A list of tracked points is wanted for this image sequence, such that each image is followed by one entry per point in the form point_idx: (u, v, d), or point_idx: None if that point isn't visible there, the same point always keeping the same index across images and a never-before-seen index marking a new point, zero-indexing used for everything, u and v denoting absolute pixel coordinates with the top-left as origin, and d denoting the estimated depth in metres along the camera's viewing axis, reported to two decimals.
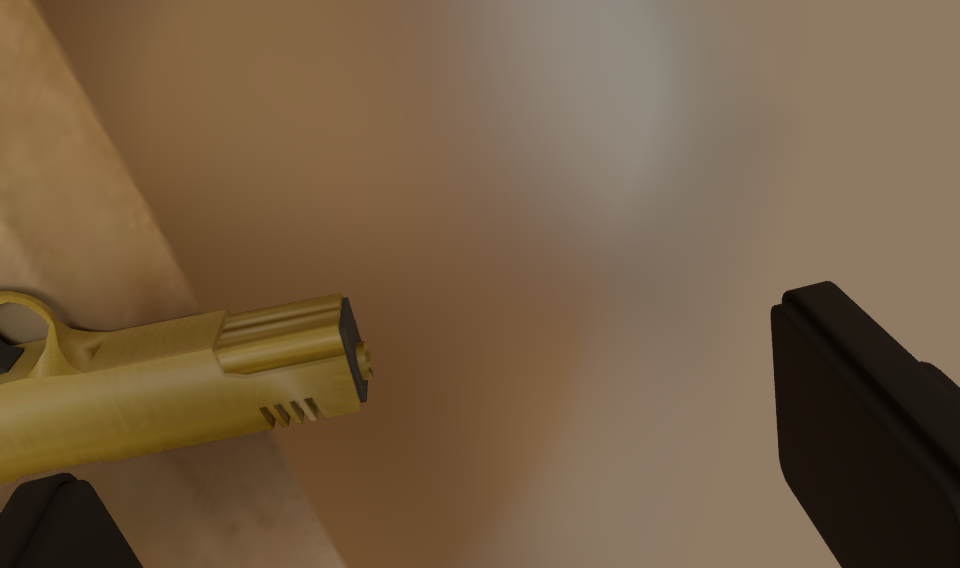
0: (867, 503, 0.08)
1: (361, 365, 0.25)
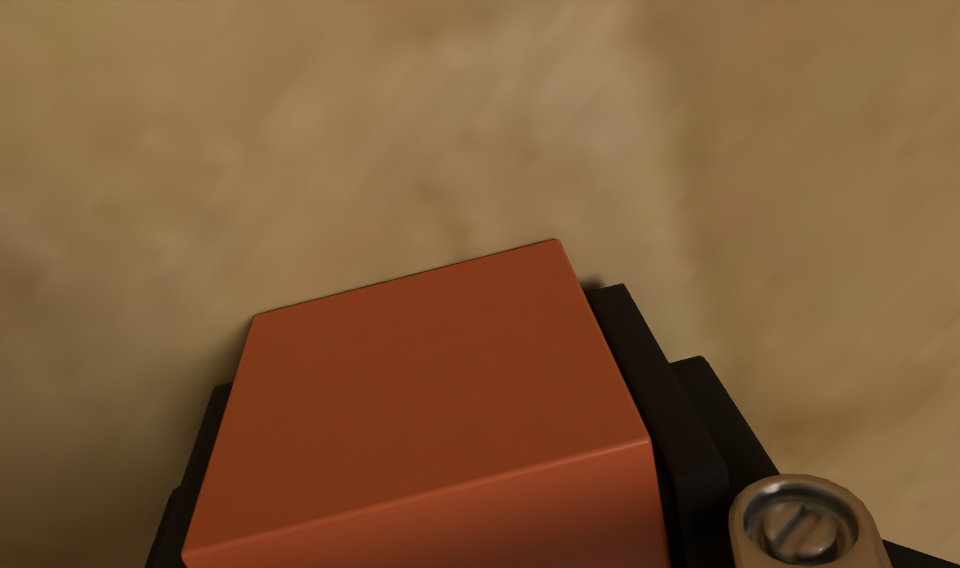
0: None
1: None
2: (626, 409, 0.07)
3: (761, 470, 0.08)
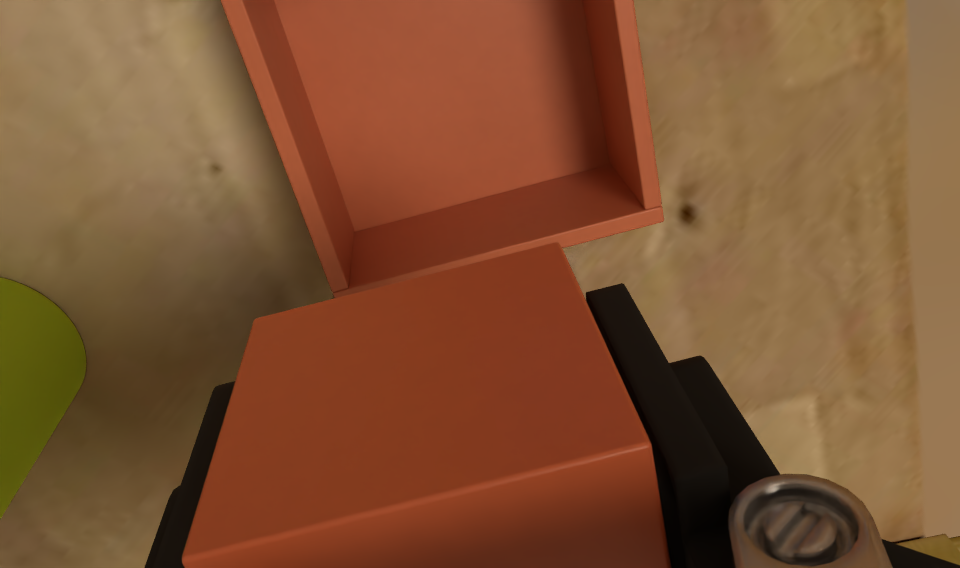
0: None
1: None
2: (626, 413, 0.07)
3: (761, 470, 0.08)
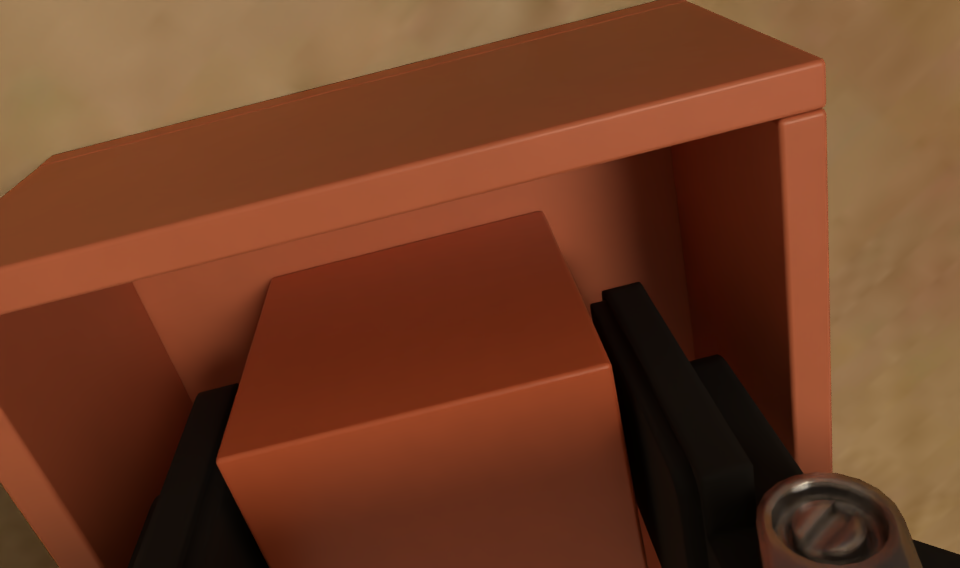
0: (648, 480, 0.09)
1: None
2: (592, 342, 0.09)
3: (784, 469, 0.08)
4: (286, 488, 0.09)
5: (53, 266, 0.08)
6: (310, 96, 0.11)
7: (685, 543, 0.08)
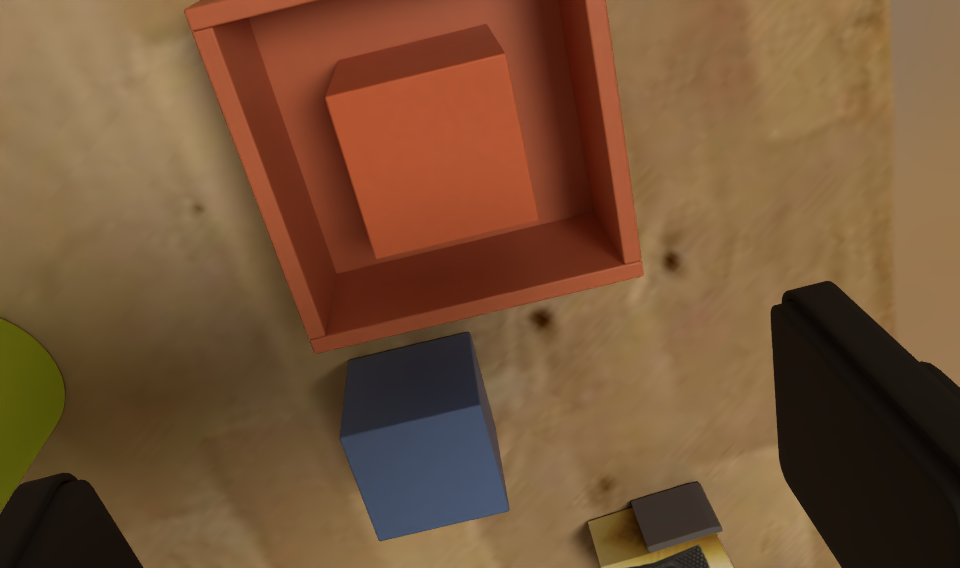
0: (867, 503, 0.08)
1: None
2: (499, 49, 0.19)
3: None
4: (356, 115, 0.19)
5: None
6: None
7: None
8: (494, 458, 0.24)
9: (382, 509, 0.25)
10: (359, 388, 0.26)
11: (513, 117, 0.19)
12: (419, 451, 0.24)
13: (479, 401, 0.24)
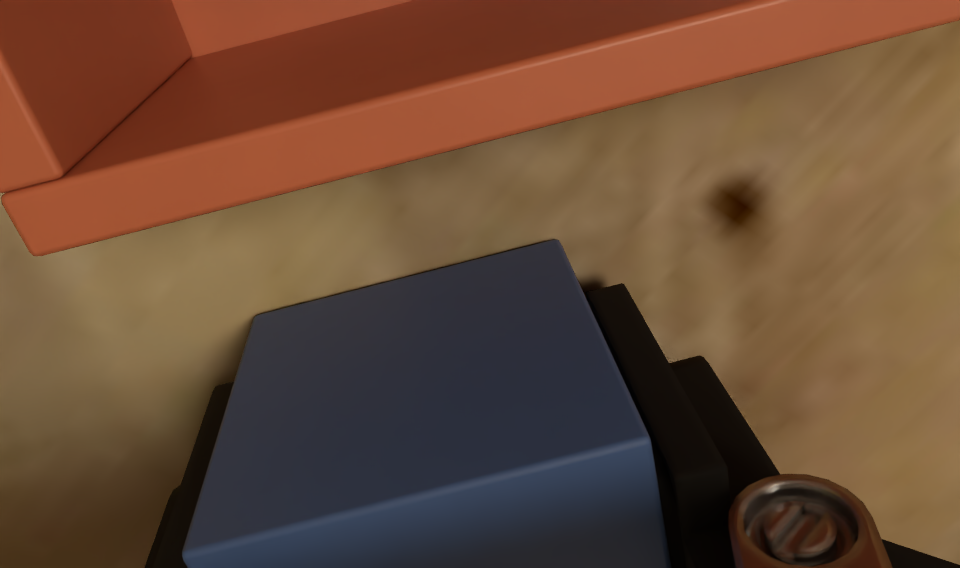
0: None
1: None
2: None
3: (761, 470, 0.08)
4: None
5: None
6: None
7: None
8: None
9: None
10: (271, 387, 0.09)
11: None
12: None
13: (641, 425, 0.07)
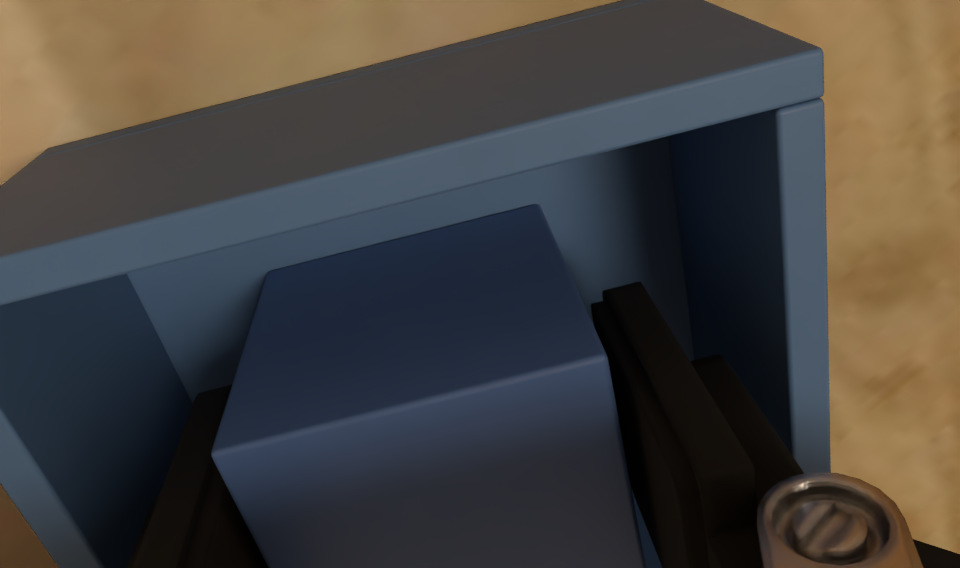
0: (649, 480, 0.09)
1: None
2: None
3: (785, 469, 0.08)
4: None
5: None
6: None
7: (686, 543, 0.08)
8: (631, 499, 0.09)
9: None
10: (284, 327, 0.10)
11: None
12: (435, 485, 0.09)
13: (600, 346, 0.09)
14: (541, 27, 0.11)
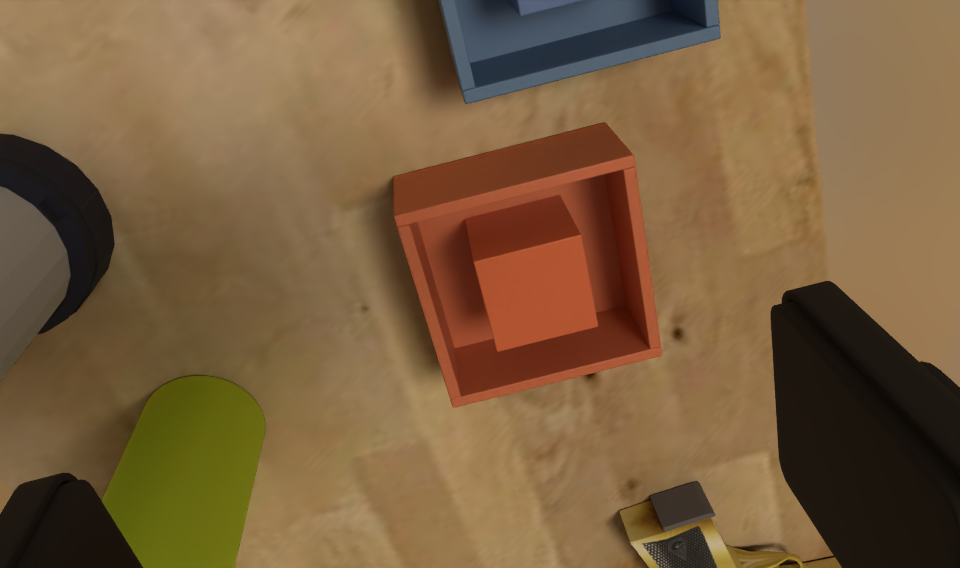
0: (867, 503, 0.08)
1: None
2: (576, 230, 0.31)
3: None
4: (491, 271, 0.31)
5: (439, 207, 0.30)
6: (484, 156, 0.34)
7: None
8: None
9: None
10: None
11: (584, 269, 0.32)
12: None
13: None
14: None
